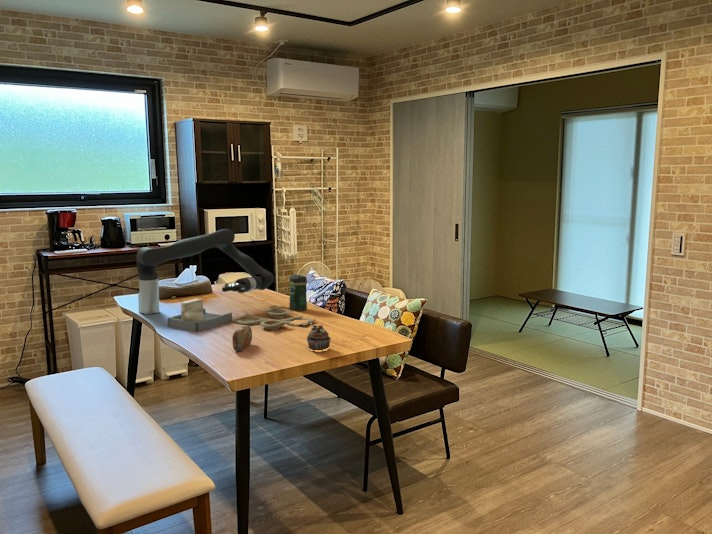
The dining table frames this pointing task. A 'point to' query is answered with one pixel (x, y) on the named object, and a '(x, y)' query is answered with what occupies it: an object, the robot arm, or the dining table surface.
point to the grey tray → (207, 322)
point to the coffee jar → (298, 292)
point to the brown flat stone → (242, 338)
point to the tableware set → (272, 324)
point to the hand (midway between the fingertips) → (223, 289)
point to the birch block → (192, 310)
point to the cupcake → (318, 338)
